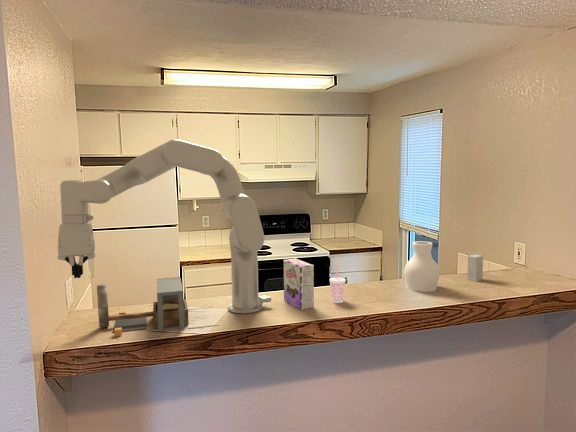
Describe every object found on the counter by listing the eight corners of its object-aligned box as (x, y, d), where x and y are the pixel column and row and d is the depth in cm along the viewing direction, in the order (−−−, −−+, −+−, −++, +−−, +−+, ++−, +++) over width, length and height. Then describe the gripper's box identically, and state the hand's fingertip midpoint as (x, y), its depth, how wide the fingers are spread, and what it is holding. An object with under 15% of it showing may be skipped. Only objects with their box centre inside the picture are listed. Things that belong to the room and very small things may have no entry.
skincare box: (473, 280, 198) (474, 254, 196) (482, 282, 194) (483, 255, 193) (466, 282, 194) (467, 255, 192) (475, 284, 190) (476, 257, 189)
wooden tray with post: (186, 312, 156) (184, 274, 154) (188, 324, 144) (187, 283, 143) (101, 321, 148) (99, 281, 147) (96, 334, 137) (94, 290, 135)
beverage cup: (327, 304, 165) (327, 267, 163) (331, 299, 171) (331, 264, 169) (344, 305, 163) (344, 268, 162) (346, 300, 169) (346, 265, 167)
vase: (425, 296, 173) (426, 246, 171) (396, 289, 184) (397, 242, 182) (446, 290, 182) (448, 243, 179) (417, 283, 193) (418, 238, 191)
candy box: (283, 301, 169) (282, 259, 168) (296, 298, 172) (296, 257, 170) (300, 311, 157) (300, 266, 155) (314, 308, 160) (314, 264, 158)
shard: (184, 316, 152) (183, 311, 153) (196, 308, 148) (195, 303, 149) (155, 315, 145) (155, 310, 146) (167, 307, 141) (167, 301, 142)
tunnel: (211, 307, 162) (210, 274, 161) (219, 325, 143) (218, 288, 142) (116, 316, 153) (114, 281, 152) (111, 337, 134) (108, 297, 133)
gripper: (102, 217, 143) (104, 273, 145) (51, 219, 138) (54, 275, 140) (99, 220, 136) (101, 278, 137) (45, 221, 131) (48, 281, 133)
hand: (77, 277), depth 139 cm, fingers closed
